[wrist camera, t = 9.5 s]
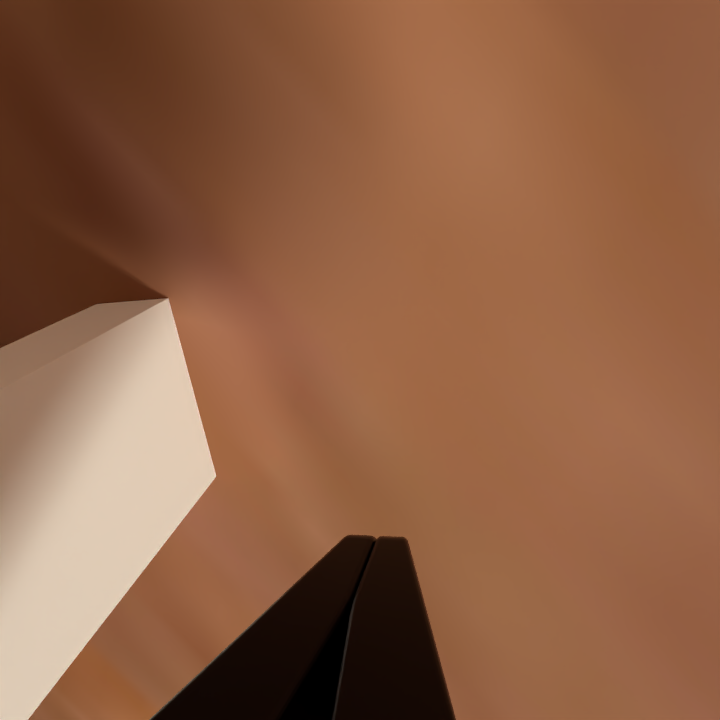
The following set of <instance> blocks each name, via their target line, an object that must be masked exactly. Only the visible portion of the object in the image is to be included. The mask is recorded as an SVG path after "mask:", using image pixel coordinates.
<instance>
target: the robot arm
mask: <svg viewBox="0 0 720 720" xmlns="http://www.w3.org/2000/svg"><path fill="white" fill-rule="evenodd" d="M150 720H456V718H455V715H454V711H453V707H452V703H451V700H450V696H449V692H448V689H447V685H446V681H445V677H444V674H443V670H442V666H441V663H440V659H439V655H438V651H437V648H436V644H435V640H434V636H433V633H432V629H431V625H430V622H429V618H428V614H427V610H426V607H425V603H424V599H423V595H422V592H421V588H420V584H419V581H418V577H417V573H416V569H415V566H414V562H413V558H412V555H411V551H410V547H409V544H408V541H407V539H406V538H404V537H390V536H380V537H379V538H377V539H376V538H375V537H373V536H367V535H348V536H346V537H344V538H343V539H342V540H341V541H340V542H339V543H338V544H337V545H336V546H334V547H333V548H332V549H331V550H330V551H329V552H328V553H327V554H326V555H325V556H324V557H323V558H322V559H321V560H320V561H318V562H317V563H316V564H315V565H314V566H313V567H312V568H311V569H310V570H309V571H308V572H307V573H306V574H305V575H303V576H302V577H301V578H300V579H299V580H298V581H297V582H296V583H295V584H294V585H293V586H292V587H291V588H290V589H289V590H287V591H286V592H285V593H284V594H283V595H282V596H281V597H280V598H279V599H278V600H277V601H276V602H275V603H274V604H272V605H271V606H270V607H269V608H268V609H267V610H266V611H265V612H264V613H263V614H262V615H261V616H260V617H259V618H258V619H256V620H255V621H254V622H253V623H252V624H251V625H250V626H249V627H248V628H247V629H246V630H245V631H244V632H243V633H242V634H240V635H239V636H238V637H237V638H236V639H235V640H234V641H233V642H232V643H231V644H230V645H229V646H228V647H227V648H225V649H224V650H223V651H222V652H221V653H220V654H219V655H218V656H217V657H216V658H215V659H214V660H213V661H212V662H211V663H209V664H208V665H207V666H206V667H205V668H204V669H203V670H202V671H201V672H200V673H199V674H198V675H197V676H196V677H194V678H193V679H192V680H191V681H190V682H189V683H188V684H187V685H186V686H185V687H184V688H183V689H182V690H181V691H180V692H178V693H177V694H176V695H175V696H174V697H173V698H172V699H171V700H170V701H169V702H168V703H167V704H166V705H165V706H163V707H162V708H161V709H160V710H159V711H158V712H157V713H156V714H155V715H154V716H153V717H152V718H151V719H150Z"/></svg>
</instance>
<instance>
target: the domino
mask: <svg viewBox="0 0 720 720" xmlns="http://www.w3.org/2000/svg"><path fill="white" fill-rule="evenodd" d="M215 477H216V473H215V470H214V466H213V462H212V459H211V455H210V451H209V447H208V444H207V440H206V436H205V433H204V429H203V425H202V421H201V418H200V414H199V410H198V407H197V403H196V399H195V395H194V392H193V388H192V384H191V381H190V377H189V373H188V370H187V366H186V362H185V358H184V355H183V351H182V347H181V344H180V340H179V336H178V332H177V329H176V325H175V321H174V318H173V314H172V310H171V306H170V303H169V299H168V298H164V299H152V300H140V301H127V302H115V303H103V304H95V305H93V306H91V307H89V308H87V309H85V310H82V311H80V312H78V313H76V314H74V315H71V316H69V317H67V318H65V319H63V320H61V321H58V322H56V323H54V324H52V325H50V326H47V327H45V328H43V329H41V330H39V331H36V332H34V333H32V334H30V335H28V336H26V337H23V338H21V339H19V340H17V341H15V342H12V343H10V344H8V345H6V346H4V347H2V348H0V720H28V719H29V717H30V716H31V715H32V714H33V712H34V711H35V710H36V708H37V707H38V706H39V705H40V703H41V702H42V701H43V699H44V698H45V697H46V696H47V694H48V693H49V692H50V690H51V689H52V688H53V687H54V685H55V684H56V683H57V681H58V680H59V679H60V677H61V676H62V675H63V674H64V672H65V671H66V670H67V668H68V667H69V666H70V665H71V663H72V662H73V661H74V659H75V658H76V657H77V656H78V654H79V653H80V652H81V650H82V649H83V648H84V646H85V645H86V644H87V643H88V641H89V640H90V639H91V637H92V636H93V635H94V634H95V632H96V631H97V630H98V628H99V627H100V626H101V625H102V623H103V622H104V621H105V619H106V618H107V617H108V616H109V614H110V613H111V612H112V610H113V609H114V608H115V606H116V605H117V604H118V603H119V601H120V600H121V599H122V597H123V596H124V595H125V594H126V592H127V591H128V590H129V588H130V587H131V586H132V585H133V583H134V582H135V581H136V579H137V578H138V577H139V576H140V574H141V573H142V572H143V570H144V569H145V568H146V566H147V565H148V564H149V563H150V561H151V560H152V559H153V557H154V556H155V555H156V554H157V552H158V551H159V550H160V548H161V547H162V546H163V545H164V543H165V542H166V541H167V539H168V538H169V537H170V535H171V534H172V533H173V532H174V530H175V529H176V528H177V526H178V525H179V524H180V523H181V521H182V520H183V519H184V517H185V516H186V515H187V514H188V512H189V511H190V510H191V508H192V507H193V506H194V505H195V503H196V502H197V501H198V499H199V498H200V497H201V495H202V494H203V493H204V492H205V490H206V489H207V488H208V486H209V485H210V484H211V483H212V481H213V480H214V479H215Z"/></svg>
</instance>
